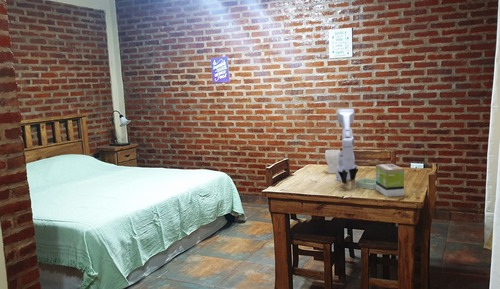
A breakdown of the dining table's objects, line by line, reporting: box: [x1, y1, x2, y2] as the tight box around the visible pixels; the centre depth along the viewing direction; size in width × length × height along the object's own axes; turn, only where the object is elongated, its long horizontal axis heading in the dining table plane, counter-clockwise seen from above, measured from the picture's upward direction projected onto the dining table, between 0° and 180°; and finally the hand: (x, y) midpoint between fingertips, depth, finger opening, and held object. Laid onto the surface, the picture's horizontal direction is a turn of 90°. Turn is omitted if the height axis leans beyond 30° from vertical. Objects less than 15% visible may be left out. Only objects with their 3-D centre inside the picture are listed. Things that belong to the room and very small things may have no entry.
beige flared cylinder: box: [324, 149, 341, 174], centre depth 291 cm, size 11×11×15 cm
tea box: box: [375, 163, 405, 198], centre depth 231 cm, size 15×10×15 cm, turn 5°
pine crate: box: [340, 179, 357, 191], centre depth 246 cm, size 7×5×4 cm
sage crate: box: [355, 177, 376, 191], centre depth 249 cm, size 13×11×3 cm
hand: (348, 182), depth 246 cm, fingers open, 7 cm apart
